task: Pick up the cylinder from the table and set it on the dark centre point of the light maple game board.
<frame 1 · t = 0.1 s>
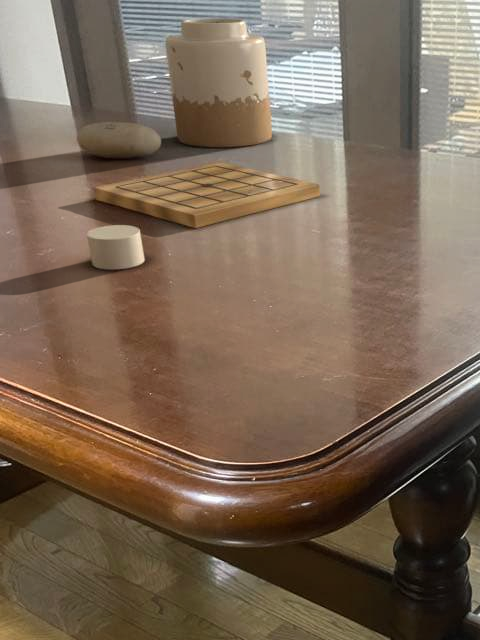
cylinder: (118, 261, 89), on the table
stone: (122, 159, 131), on the table
vase: (225, 140, 144), on the table
board: (208, 198, 111), on the table
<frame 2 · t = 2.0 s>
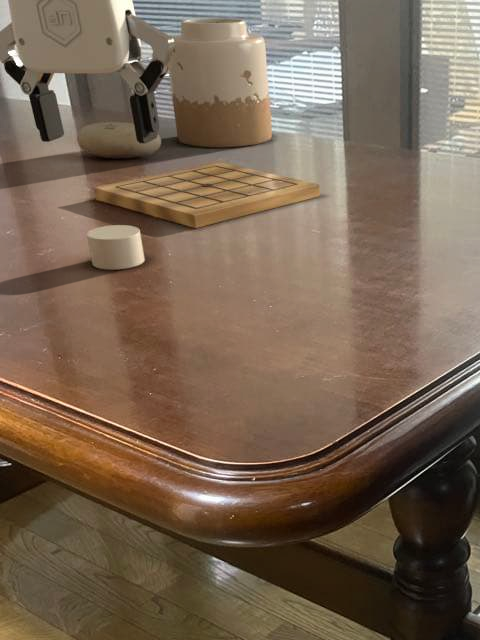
hand: (100, 139, 83), 12 cm above the table, tool pointing down, fingers open, 9 cm apart
nothing on the table moved.
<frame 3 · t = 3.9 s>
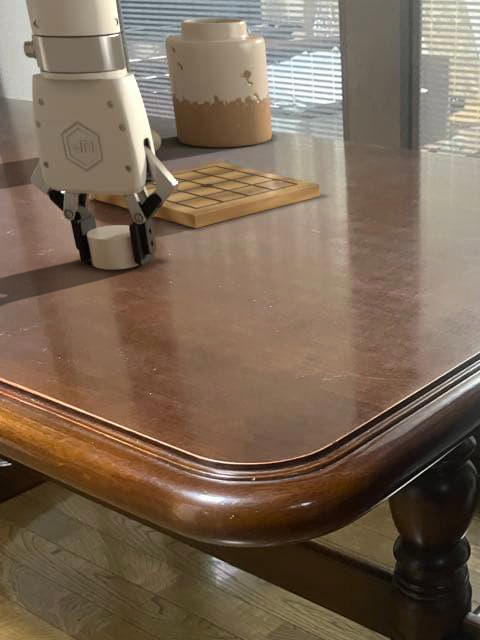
hand: (117, 257, 89), 0 cm above the table, tool pointing down, fingers closed on cylinder, 5 cm apart
cylinder: (118, 261, 89), on the table, touching gripper
everything else where it was.
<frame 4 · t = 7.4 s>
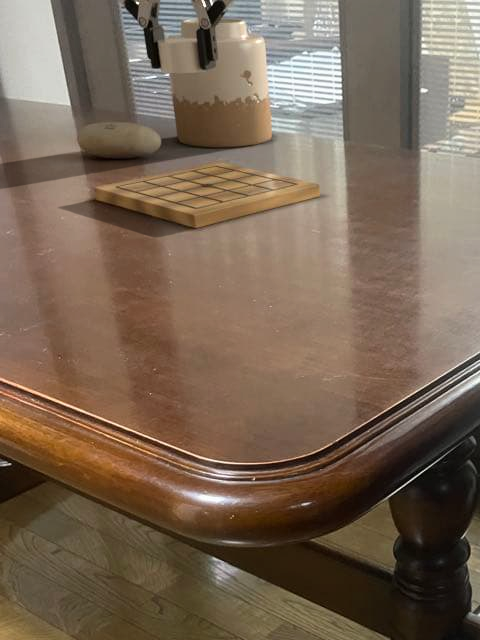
hand: (184, 65, 100), 15 cm above the table, tool pointing down, fingers closed on cylinder, 5 cm apart
cylinder: (184, 70, 100), point 15 cm above the table, touching gripper
everything else where it was.
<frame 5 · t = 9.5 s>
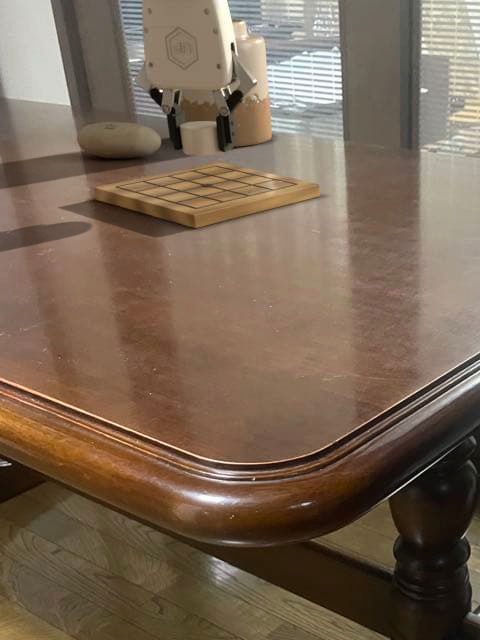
hand: (203, 147, 108), 6 cm above the table, tool pointing down, fingers closed on cylinder, 5 cm apart
cylinder: (204, 151, 108), point 6 cm above the table, touching gripper
everything else where it was.
when the fingers open (2 cm above the table, at t = 10.9 s): cylinder stays where it is, resting on board.
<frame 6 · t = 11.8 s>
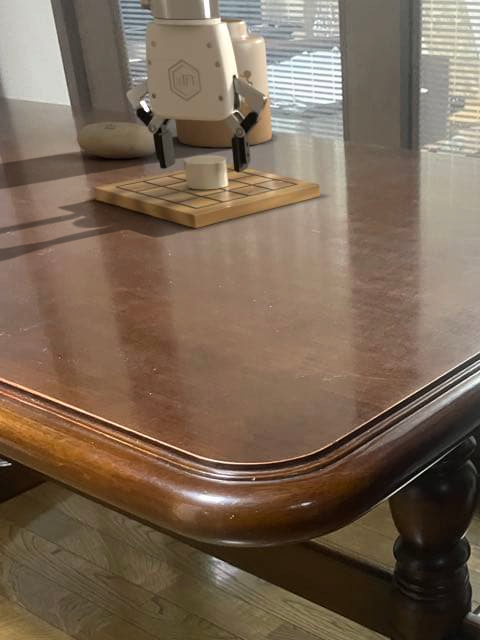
hand: (204, 168, 109), 4 cm above the table, tool pointing down, fingers open, 9 cm apart
cylinder: (207, 184, 110), point 2 cm above the table, touching board
everything else where it was.
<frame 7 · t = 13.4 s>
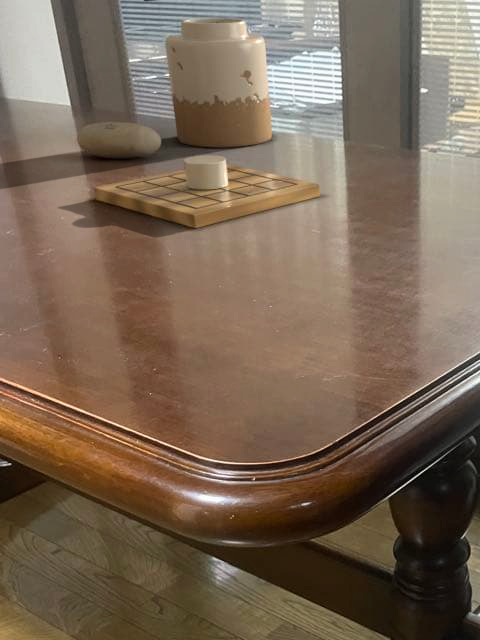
nothing on the table moved.
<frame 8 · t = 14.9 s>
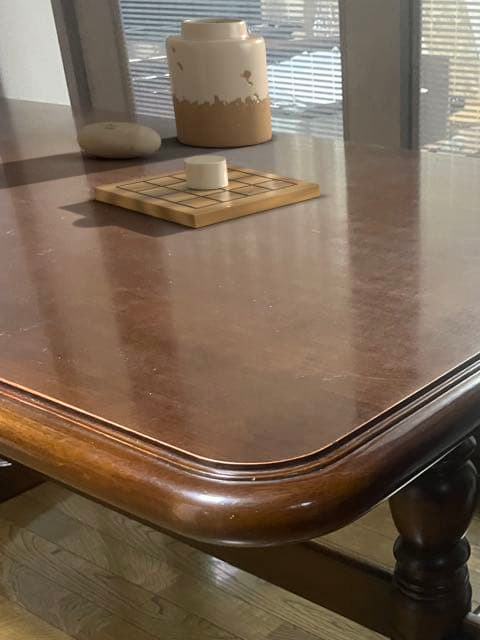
nothing on the table moved.
at the end: cylinder 0.1 cm off-centre on the board, point 1.6 cm above the board's base; cylinder tilted 0°; the gripper is holding nothing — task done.
